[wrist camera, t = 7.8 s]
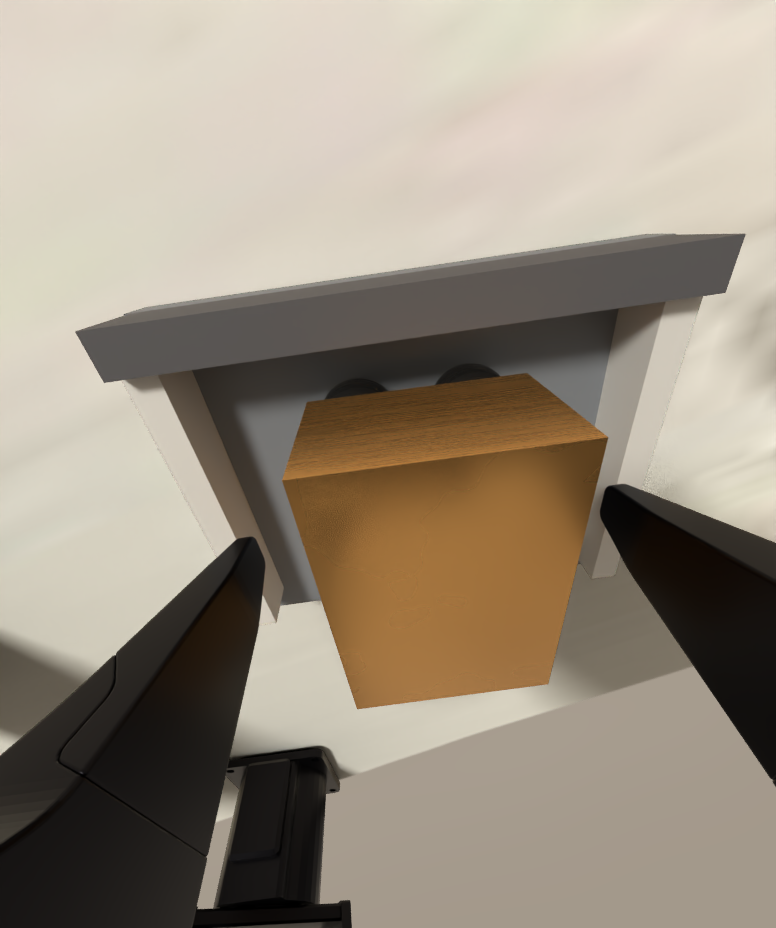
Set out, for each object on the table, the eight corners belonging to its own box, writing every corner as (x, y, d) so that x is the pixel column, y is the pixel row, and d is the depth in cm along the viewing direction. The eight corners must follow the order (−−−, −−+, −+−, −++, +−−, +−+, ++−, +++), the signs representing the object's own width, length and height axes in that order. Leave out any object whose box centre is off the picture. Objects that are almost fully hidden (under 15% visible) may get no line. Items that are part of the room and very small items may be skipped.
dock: (578, 543, 15) (622, 605, 12) (271, 586, 15) (253, 657, 13) (646, 234, 9) (756, 232, 7) (145, 307, 9) (64, 333, 7)
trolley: (487, 541, 13) (548, 683, 9) (357, 558, 13) (357, 708, 9) (496, 349, 9) (608, 437, 5) (316, 372, 9) (282, 480, 5)
